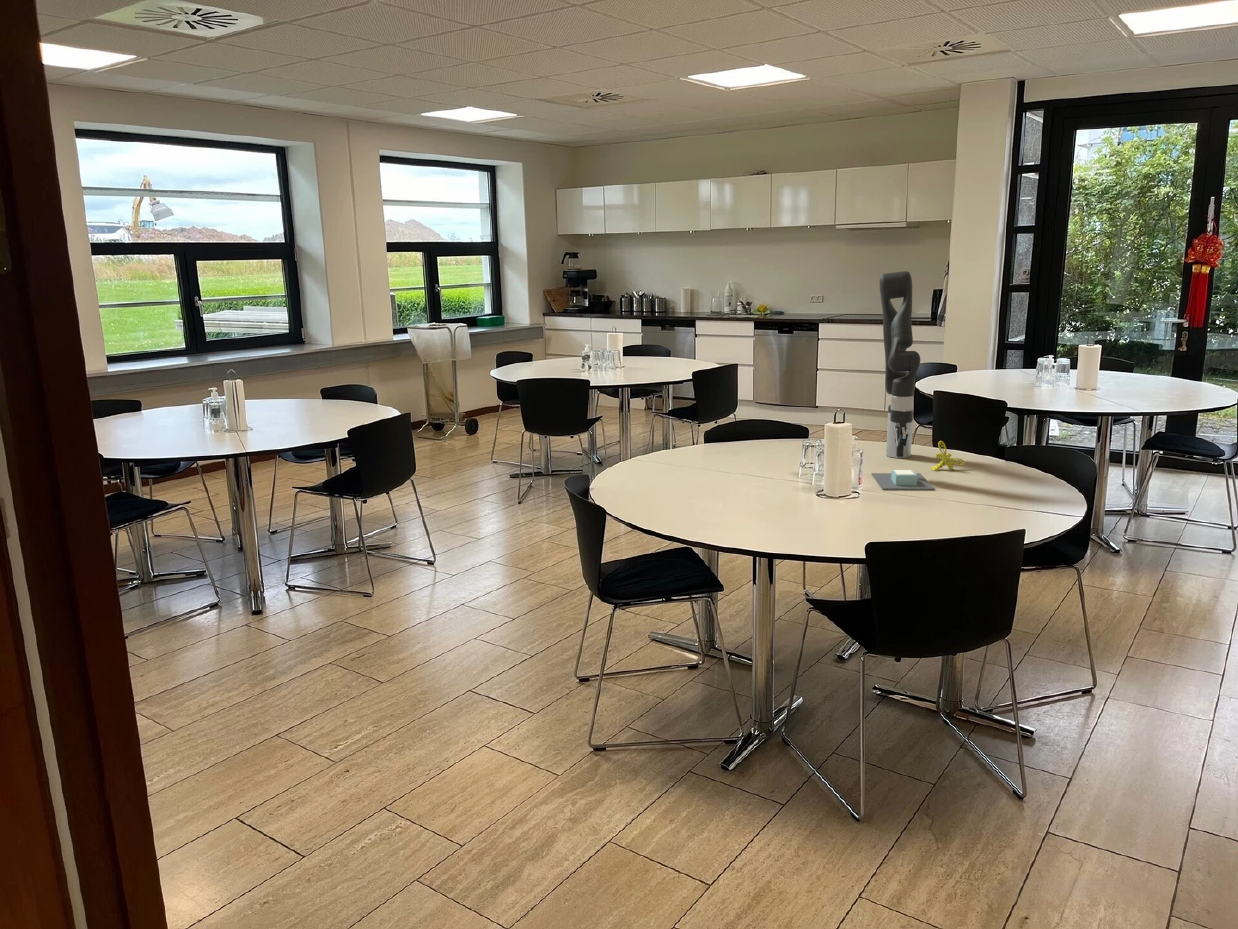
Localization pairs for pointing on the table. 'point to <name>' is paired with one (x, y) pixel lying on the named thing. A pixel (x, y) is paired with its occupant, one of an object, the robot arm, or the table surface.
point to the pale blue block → (904, 477)
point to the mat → (888, 484)
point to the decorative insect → (944, 456)
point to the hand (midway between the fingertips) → (899, 456)
